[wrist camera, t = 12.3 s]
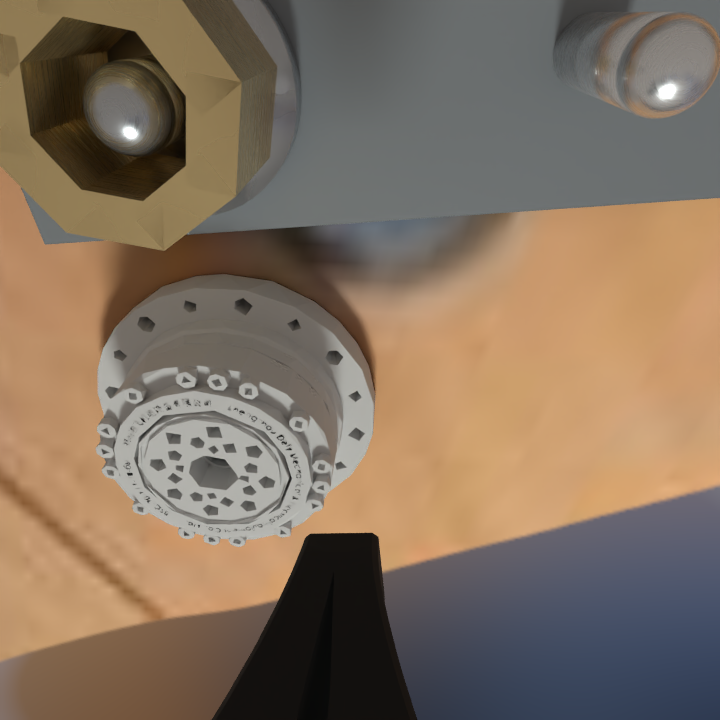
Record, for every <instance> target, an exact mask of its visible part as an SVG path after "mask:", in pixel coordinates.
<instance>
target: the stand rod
mask: <svg viewBox="0 0 720 720" xmlns="http://www.w3.org/2000/svg"><path fill="white" fill-rule="evenodd" d="M553 66H554V70H555V73H556V75H557V76H558V78H559V79H560V80H561V81H562V82H563V83H564V84H566V85H567V86H569V87H572V88H574V89H576V90H579V91H581V92H583V93H586V94H588V95H590V96H593V97H595V98H597V99H600V100H602V101H604V102H607V103H609V104H611V105H614V106H616V107H618V108H621V109H623V110H626V111H628V112H630V113H633V114H635V115H637V116H640V117H644V118H649V119H661V118H667V117H671V116H674V115H677V114H679V113H681V112H683V111H685V110H687V109H689V108H690V107H692V106H693V105H694V104H695V103H697V102H698V101H699V100H700V99H701V98H702V97H703V96H704V95H705V94H706V92H707V91H708V90H709V89H710V87H711V86H712V84H713V82H714V80H715V79H716V76H717V74H718V71H719V68H720V38H719V36H718V33H717V32H716V30H715V28H714V27H713V26H712V25H711V24H710V23H709V22H708V21H707V20H706V19H704V18H703V17H701V16H699V15H696V14H693V13H688V12H590V13H586V14H582V15H580V16H578V17H577V18H575V19H573V20H572V21H571V22H570V23H569V24H568V25H567V26H566V27H565V28H564V29H563V30H562V32H561V33H560V35H559V37H558V39H557V41H556V43H555V46H554V50H553Z"/></svg>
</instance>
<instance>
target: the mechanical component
mask: <svg viewBox="0 0 720 720" xmlns="http://www.w3.org/2000/svg"><path fill="white" fill-rule="evenodd" d="M98 396H99V399H100V403H101V406H102V409H103V413H104V418H103V419H102V420H101V422H100V423H99V425H98V426H97V431H98V433H99V434H100V440H101V442H100V443H99V445H98V446H97V447H96V452H97V454H98V455H100V456H101V457H102V458H105V461H106V463H105V465H104V467H103V468H102V473H103V474H104V475H105V476H106V477H108V478H111V479H114V480H115V481H116V482H117V483H118V484H119V486H120V487H121V488H122V489H123V490H124V491H125V493H126V494H127V495H128V496H129V497H130V498H131V499H132V500H133V501H134V504H133V507H132V509H133V510H134V512H135V513H138V514H140V515H145V514H148V513H150V514H152V515H154V516H155V517H157V518H159V519H161V520H163V521H164V522H166V523H168V524H170V525H173V526H176V527H179V529H178V534H179V535H180V536H181V537H182V538H186V539H191V538H193V537H194V535H195V533H196V534H200V535H204V538H203V539H204V541H205V542H206V543H209V544H211V545H216V544H218V543H219V542H220V539H229V542H230V544H231V545H234V546H237V547H240V546H243V545H245V542H246V539H258V538H262V537H267V536H271V535H278V536H280V537H287V536H290V535H291V529H292V528H293V527H295V526H297V525H299V524H301V523H303V522H304V521H305V520H306V519H307V518H309V517H310V516H311V515H312V514H313V513H314V512H315V511H320V510H321V509H322V508H323V505H324V499H325V497H326V495H327V493H328V492H329V491H331V490H332V489H333V488H335V487H336V486H337V485H339V484H340V483H341V482H342V481H344V480H345V479H346V478H348V477H349V476H350V475H351V474H352V473H353V471H354V470H355V468H356V467H357V465H358V464H359V463H360V461H361V460H362V458H363V457H364V455H365V454H366V451H367V448H368V446H369V443H370V440H371V437H372V434H373V424H374V409H375V391H374V387H373V382H372V378H371V373H370V369H369V365H368V363H367V361H366V359H365V357H364V355H363V353H362V351H361V349H360V347H359V346H358V344H357V342H356V341H355V340H354V339H353V337H352V336H351V335H350V334H349V333H348V331H347V330H346V329H345V328H344V326H343V325H342V324H341V323H340V322H339V321H338V320H337V319H336V318H334V317H333V316H332V315H331V314H329V313H328V312H327V311H326V310H324V309H323V308H322V307H321V306H319V305H318V304H317V303H316V302H314V301H312V300H310V299H308V298H306V297H304V296H302V295H300V294H298V293H296V292H294V291H292V290H290V289H288V288H286V287H284V286H282V285H279V284H277V283H275V282H273V281H268V280H261V279H255V278H248V277H241V276H235V275H228V274H217V275H203V276H195V277H192V278H188V279H185V280H182V281H179V282H175V283H172V284H169V285H166V286H162V287H161V288H160V289H158V290H157V291H156V292H154V293H153V294H152V295H150V296H149V297H148V298H146V299H145V300H143V301H142V302H141V303H139V304H138V305H137V306H135V307H134V308H133V309H132V310H131V311H130V312H129V313H128V314H127V315H126V316H125V317H124V318H123V319H122V321H121V322H120V323H119V324H118V325H117V326H116V327H115V328H114V330H113V332H112V334H111V335H110V337H109V339H108V341H107V343H106V344H105V346H104V348H103V351H102V355H101V359H100V363H99V366H98Z"/></svg>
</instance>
